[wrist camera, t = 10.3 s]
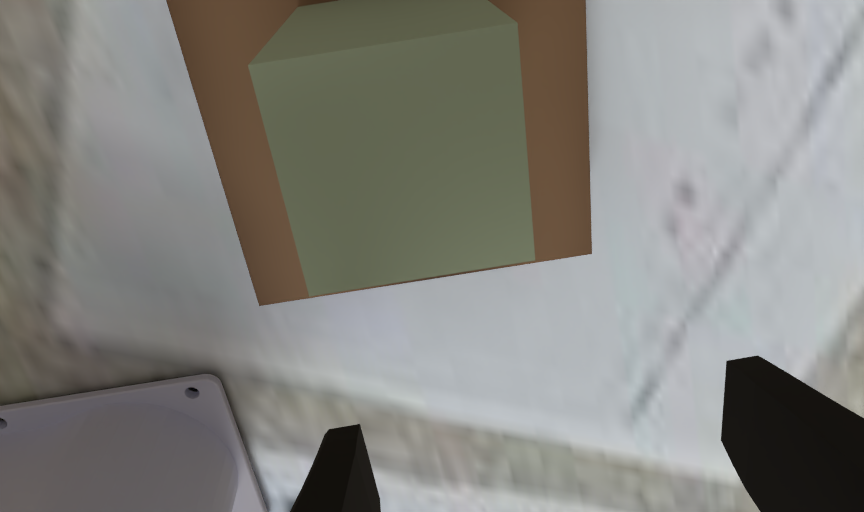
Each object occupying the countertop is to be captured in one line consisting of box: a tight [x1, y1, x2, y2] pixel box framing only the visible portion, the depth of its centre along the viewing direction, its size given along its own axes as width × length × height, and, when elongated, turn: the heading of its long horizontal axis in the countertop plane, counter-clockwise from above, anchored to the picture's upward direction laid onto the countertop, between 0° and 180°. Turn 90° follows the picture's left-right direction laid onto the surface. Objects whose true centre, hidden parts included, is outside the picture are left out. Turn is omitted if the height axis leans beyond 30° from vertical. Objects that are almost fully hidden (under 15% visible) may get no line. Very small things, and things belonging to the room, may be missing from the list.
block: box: [248, 0, 535, 297], centre depth 14 cm, size 4×4×7 cm
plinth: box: [166, 0, 592, 306], centre depth 18 cm, size 10×12×3 cm
